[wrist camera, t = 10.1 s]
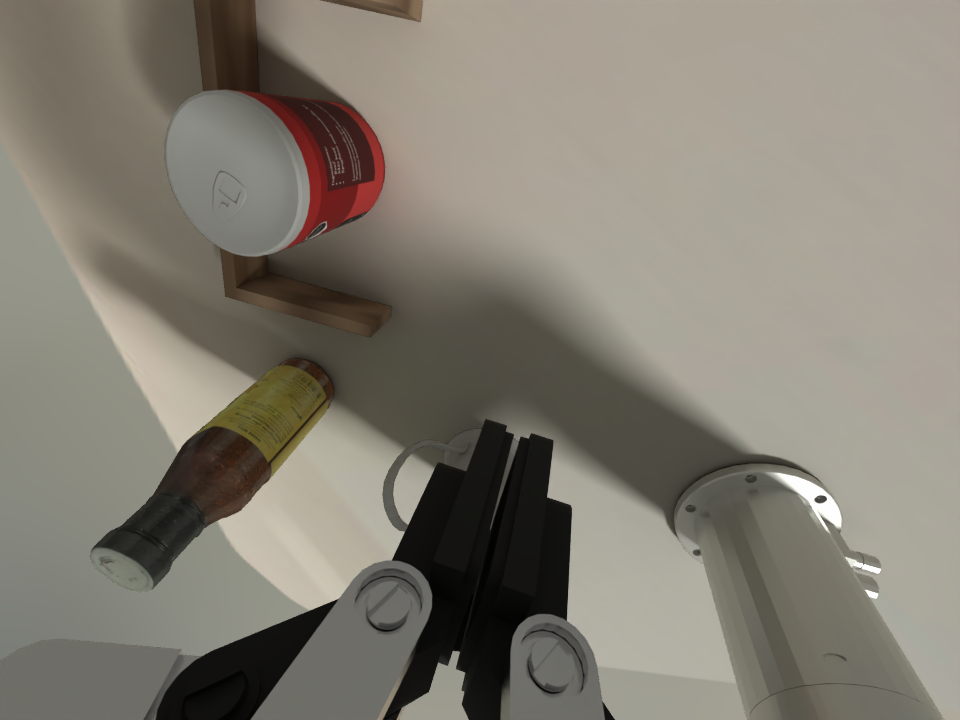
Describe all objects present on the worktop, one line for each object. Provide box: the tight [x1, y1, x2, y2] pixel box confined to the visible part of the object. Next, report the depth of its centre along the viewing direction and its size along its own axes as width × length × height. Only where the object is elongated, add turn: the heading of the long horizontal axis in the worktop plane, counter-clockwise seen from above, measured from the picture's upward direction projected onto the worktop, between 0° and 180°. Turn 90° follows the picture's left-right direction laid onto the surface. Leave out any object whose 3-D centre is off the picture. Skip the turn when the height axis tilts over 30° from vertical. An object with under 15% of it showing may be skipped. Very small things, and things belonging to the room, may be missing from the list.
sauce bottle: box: [90, 359, 333, 592], centre depth 33 cm, size 6×6×20 cm
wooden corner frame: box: [194, 0, 423, 337], centre depth 30 cm, size 12×21×4 cm, turn 169°
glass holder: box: [383, 429, 519, 652], centre depth 34 cm, size 9×14×15 cm, turn 26°
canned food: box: [165, 90, 385, 257], centre depth 26 cm, size 8×8×11 cm
